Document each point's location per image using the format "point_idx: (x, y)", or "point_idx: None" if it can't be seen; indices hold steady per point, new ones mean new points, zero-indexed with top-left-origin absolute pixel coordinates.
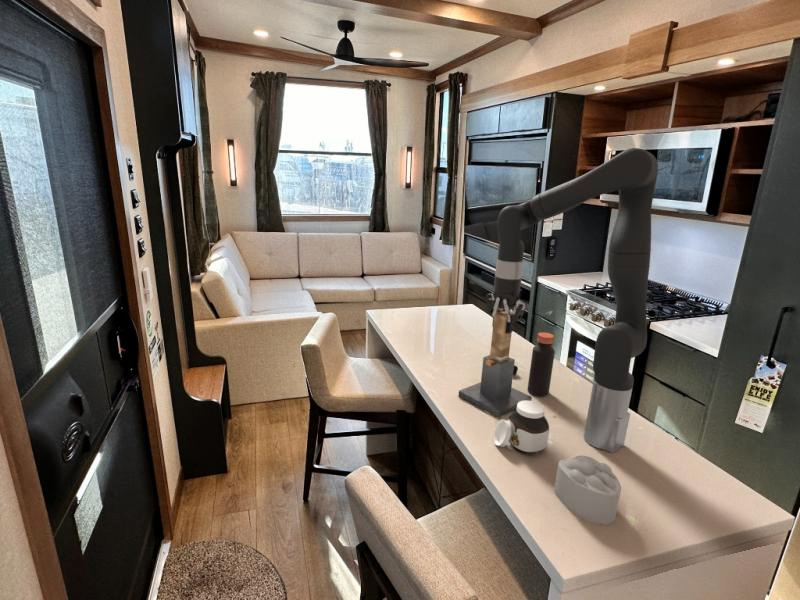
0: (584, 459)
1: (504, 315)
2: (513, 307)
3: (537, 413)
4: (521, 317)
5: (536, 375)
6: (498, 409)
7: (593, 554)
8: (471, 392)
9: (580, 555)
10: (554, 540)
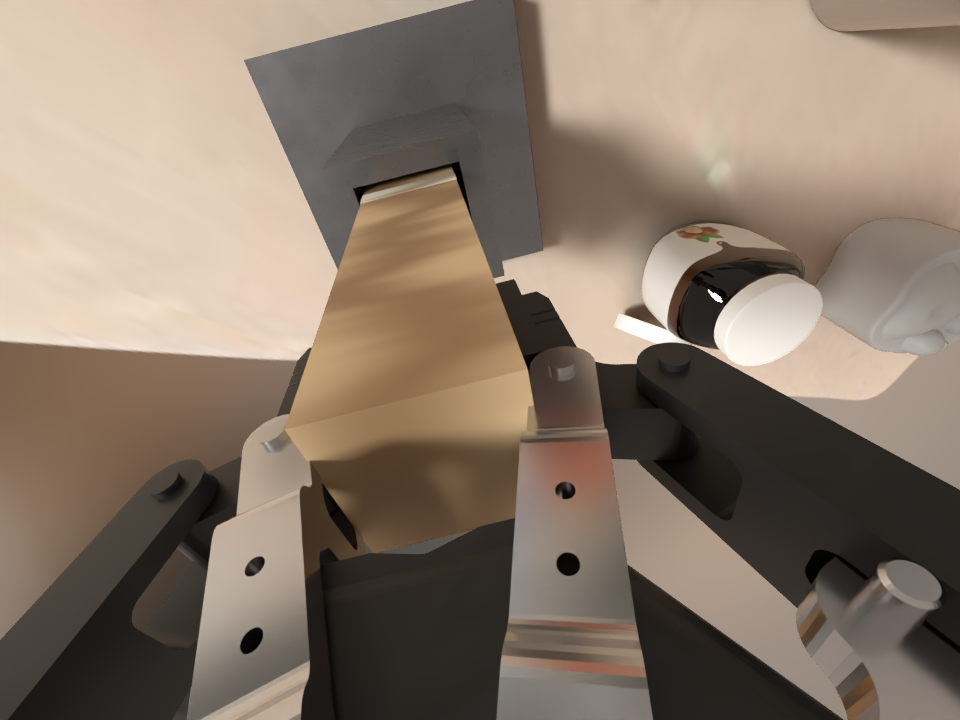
0: (946, 302)
1: (481, 487)
2: (644, 579)
3: (809, 333)
4: (739, 371)
5: None
6: (528, 241)
7: None
8: None
9: (890, 364)
10: (847, 379)
